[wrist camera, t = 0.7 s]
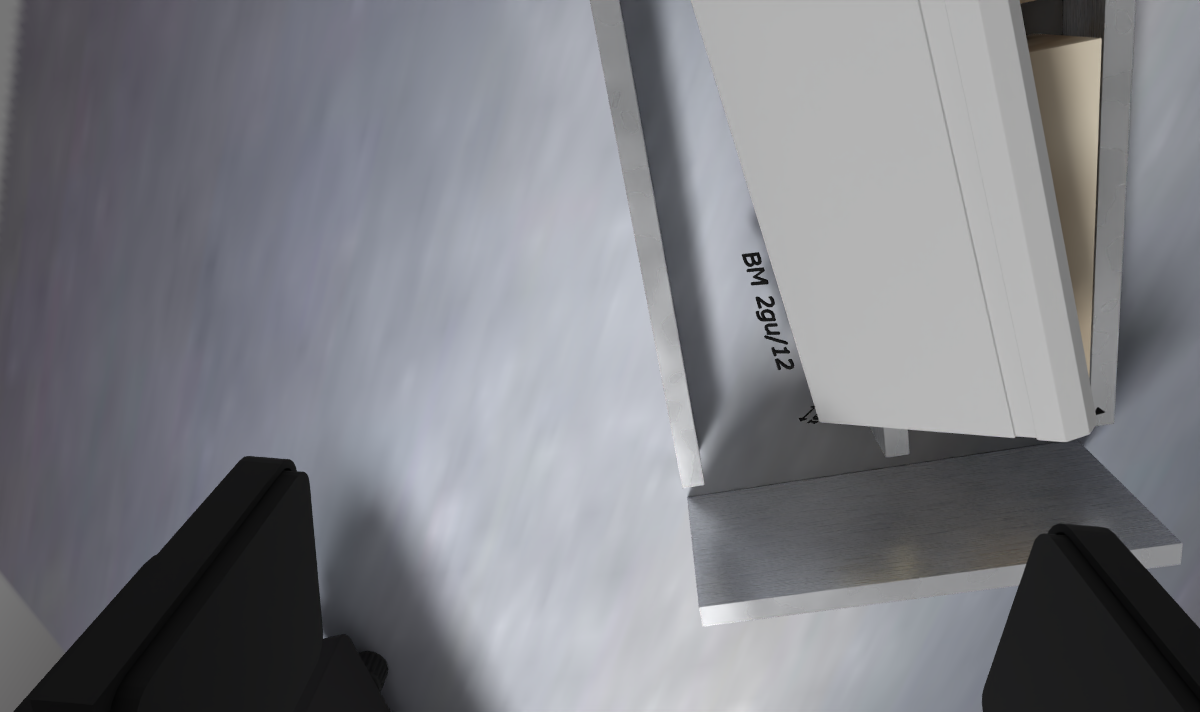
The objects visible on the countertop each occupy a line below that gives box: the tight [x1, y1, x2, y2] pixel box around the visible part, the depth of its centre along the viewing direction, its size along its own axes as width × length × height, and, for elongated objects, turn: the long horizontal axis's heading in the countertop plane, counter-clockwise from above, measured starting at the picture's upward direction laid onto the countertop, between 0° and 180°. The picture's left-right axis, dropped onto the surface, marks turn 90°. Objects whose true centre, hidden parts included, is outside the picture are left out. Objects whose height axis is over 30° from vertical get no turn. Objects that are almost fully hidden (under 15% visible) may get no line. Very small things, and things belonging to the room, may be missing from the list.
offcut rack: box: [590, 0, 1183, 626], centre depth 28 cm, size 18×41×8 cm, turn 11°
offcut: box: [1026, 33, 1102, 375], centre depth 32 cm, size 3×13×5 cm, turn 11°
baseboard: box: [691, 0, 1105, 442], centre depth 28 cm, size 31×3×12 cm
